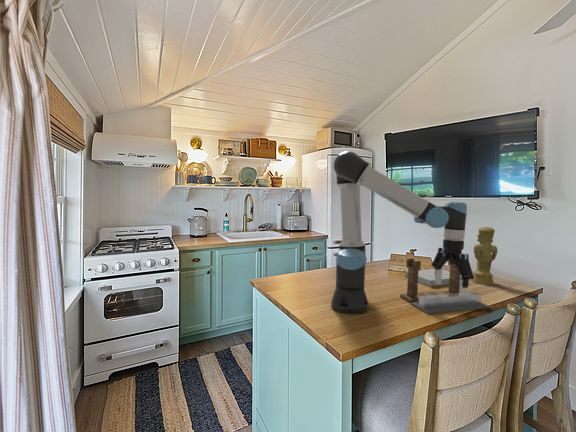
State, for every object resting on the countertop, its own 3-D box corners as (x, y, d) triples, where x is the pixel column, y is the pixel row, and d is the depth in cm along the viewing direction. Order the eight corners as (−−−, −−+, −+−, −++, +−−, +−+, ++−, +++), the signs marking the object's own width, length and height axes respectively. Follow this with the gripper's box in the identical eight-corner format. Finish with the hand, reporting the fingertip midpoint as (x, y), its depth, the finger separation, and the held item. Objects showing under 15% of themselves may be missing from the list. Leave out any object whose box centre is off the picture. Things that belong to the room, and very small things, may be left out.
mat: (427, 314, 114) (427, 312, 114) (411, 304, 124) (411, 302, 124) (489, 308, 121) (489, 306, 121) (469, 299, 131) (469, 297, 131)
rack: (409, 303, 126) (411, 262, 124) (400, 297, 132) (401, 258, 131) (466, 298, 132) (468, 259, 130) (454, 292, 139) (456, 255, 137)
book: (465, 276, 155) (430, 280, 147) (465, 283, 155) (429, 288, 147) (437, 268, 172) (404, 271, 164) (437, 274, 172) (404, 277, 164)
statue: (490, 280, 159) (494, 226, 157) (498, 285, 150) (502, 228, 148) (467, 278, 162) (471, 225, 160) (474, 283, 153) (477, 227, 150)
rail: (423, 308, 118) (423, 298, 118) (418, 305, 121) (419, 296, 120) (480, 303, 124) (481, 294, 124) (474, 300, 127) (475, 291, 127)
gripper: (487, 244, 109) (482, 299, 111) (439, 234, 133) (436, 279, 135) (471, 245, 107) (466, 300, 109) (425, 234, 131) (422, 280, 133)
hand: (449, 289), depth 122 cm, fingers open, 13 cm apart
